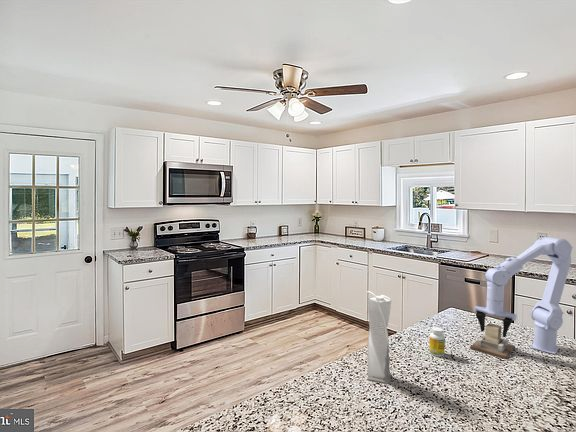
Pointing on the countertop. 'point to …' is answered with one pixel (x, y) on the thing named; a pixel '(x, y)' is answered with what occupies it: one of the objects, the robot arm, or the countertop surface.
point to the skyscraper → (378, 339)
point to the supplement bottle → (437, 342)
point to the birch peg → (493, 333)
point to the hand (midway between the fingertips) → (493, 333)
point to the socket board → (493, 347)
